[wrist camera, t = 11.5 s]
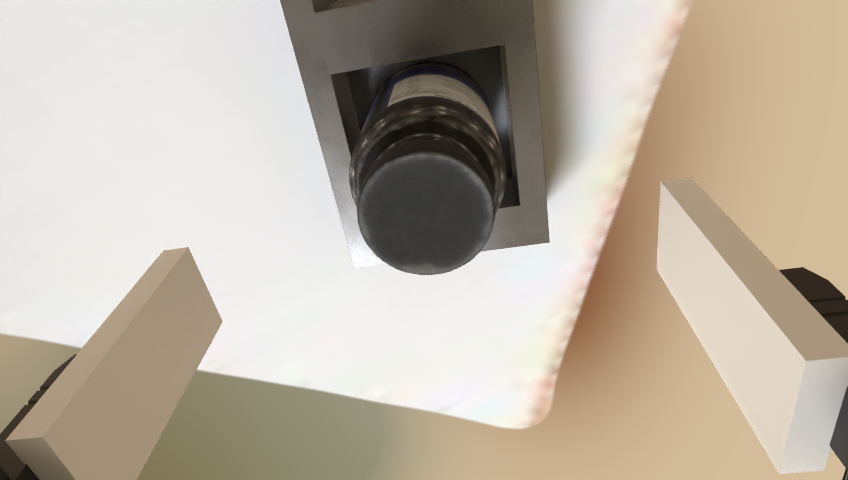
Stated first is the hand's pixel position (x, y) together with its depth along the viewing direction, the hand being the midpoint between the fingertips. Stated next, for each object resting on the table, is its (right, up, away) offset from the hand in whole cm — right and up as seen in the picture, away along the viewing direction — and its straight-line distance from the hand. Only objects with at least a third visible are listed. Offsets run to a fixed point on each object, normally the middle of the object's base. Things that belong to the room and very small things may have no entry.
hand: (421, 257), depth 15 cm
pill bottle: (0, +7, +13) cm, 14 cm away
